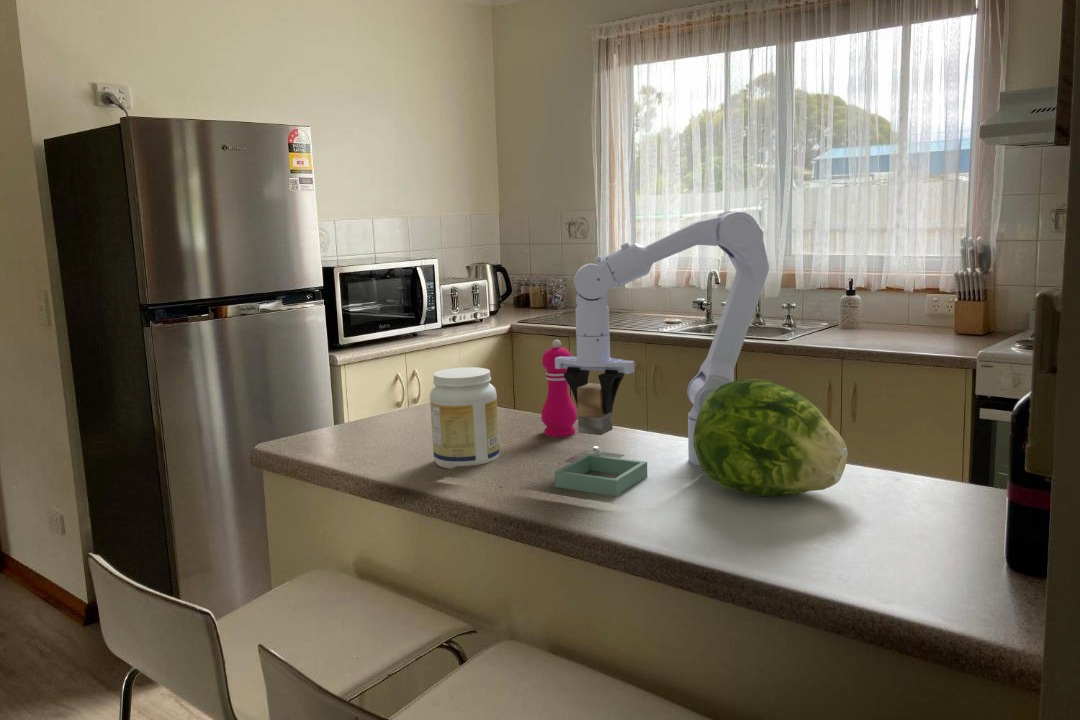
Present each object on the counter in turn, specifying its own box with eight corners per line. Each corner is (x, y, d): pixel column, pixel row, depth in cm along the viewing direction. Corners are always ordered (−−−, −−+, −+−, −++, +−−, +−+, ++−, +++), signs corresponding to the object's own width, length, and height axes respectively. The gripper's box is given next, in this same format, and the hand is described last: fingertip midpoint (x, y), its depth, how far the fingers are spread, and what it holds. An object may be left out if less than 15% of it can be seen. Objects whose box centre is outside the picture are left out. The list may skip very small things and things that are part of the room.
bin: (647, 482, 143) (647, 461, 142) (617, 502, 133) (616, 480, 133) (588, 473, 149) (587, 454, 148) (555, 492, 139) (554, 471, 139)
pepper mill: (574, 442, 169) (571, 342, 166) (538, 441, 171) (535, 342, 167) (580, 433, 176) (577, 336, 173) (545, 432, 178) (542, 337, 174)
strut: (612, 429, 151) (611, 384, 149) (600, 435, 147) (599, 389, 146) (590, 426, 153) (589, 383, 152) (578, 432, 149) (577, 387, 148)
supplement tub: (480, 449, 167) (475, 363, 164) (512, 463, 157) (508, 371, 154) (422, 460, 160) (417, 371, 158) (452, 475, 150) (446, 381, 147)
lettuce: (813, 531, 120) (846, 405, 118) (664, 479, 132) (691, 365, 130) (845, 514, 136) (873, 403, 134) (708, 470, 148) (733, 368, 146)
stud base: (624, 460, 156) (624, 443, 155) (604, 472, 149) (603, 454, 149) (586, 455, 160) (585, 438, 159) (564, 466, 153) (564, 449, 153)
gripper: (641, 332, 147) (642, 410, 149) (568, 329, 154) (570, 403, 157) (622, 338, 141) (624, 419, 143) (547, 334, 148) (550, 411, 151)
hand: (595, 411), depth 149 cm, fingers closed on strut, 4 cm apart
